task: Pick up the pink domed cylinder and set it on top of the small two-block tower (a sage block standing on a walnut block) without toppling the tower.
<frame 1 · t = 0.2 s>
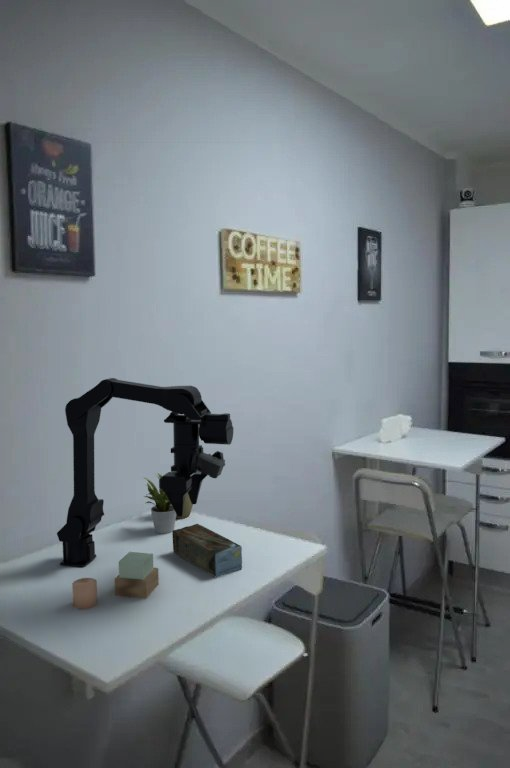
hand: (187, 510, 140), 14 cm above the table, tool pointing down, fingers open, 9 cm apart
squeeze bottle: (179, 516, 181), on the table
pink domed cylinder: (85, 603, 126), on the table
beverage carton: (206, 562, 148), on the table
base block: (137, 591, 132), on the table, touching top block
house plant: (169, 530, 169), on the table
top block: (136, 573, 132), point 4 cm above the table, touching base block
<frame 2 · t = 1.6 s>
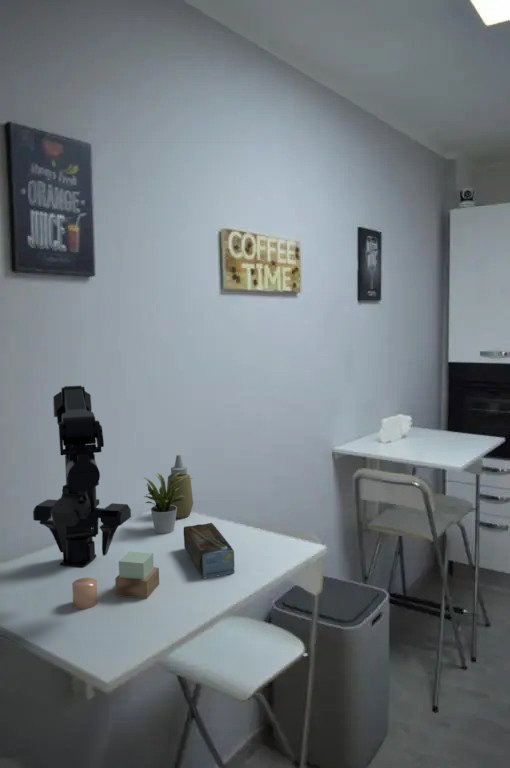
hand: (83, 553, 125), 11 cm above the table, tool pointing down, fingers open, 9 cm apart
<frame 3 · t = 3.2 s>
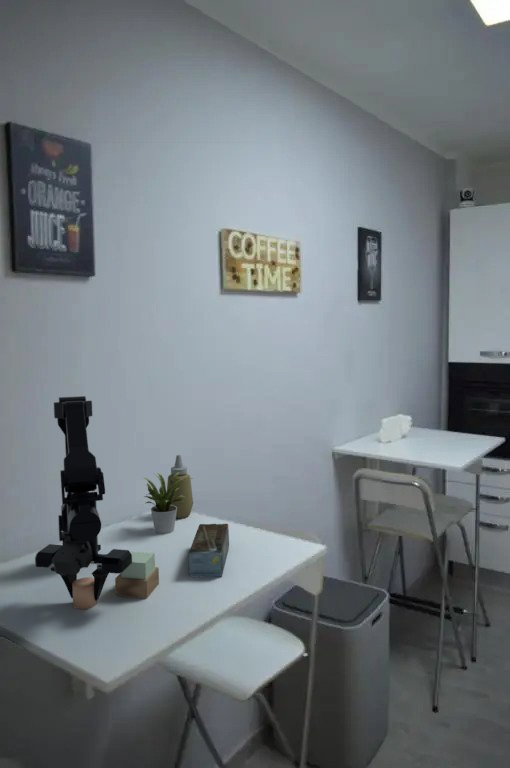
hand: (85, 598, 126), 1 cm above the table, tool pointing down, fingers closed on pink domed cylinder, 5 cm apart
pink domed cylinder: (85, 603, 126), on the table, touching gripper
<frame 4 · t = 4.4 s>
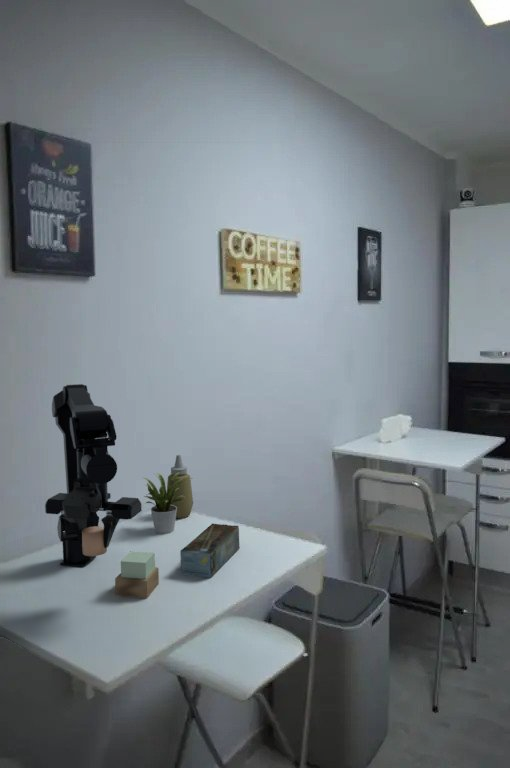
hand: (94, 546, 126), 12 cm above the table, tool pointing down, fingers closed on pink domed cylinder, 5 cm apart
pink domed cylinder: (94, 551, 126), point 10 cm above the table, touching gripper
when the fingers open (10 cm above the table, at t = 5.8 s): pink domed cylinder drops 1 cm, resting on top block.
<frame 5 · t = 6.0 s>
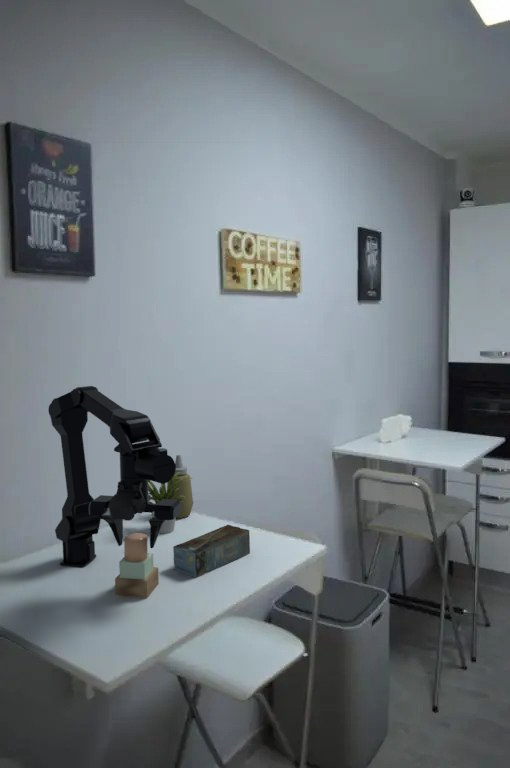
hand: (136, 546, 131), 10 cm above the table, tool pointing down, fingers open, 7 cm apart
pink domed cylinder: (136, 557, 131), point 7 cm above the table, touching top block
top block: (136, 573, 132), point 4 cm above the table, touching base block, pink domed cylinder
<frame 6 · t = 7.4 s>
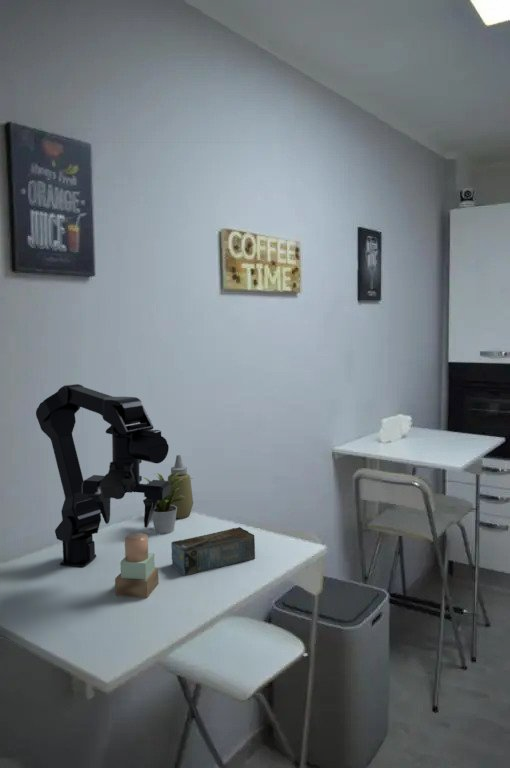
hand: (126, 525, 136), 13 cm above the table, tool pointing down, fingers open, 9 cm apart
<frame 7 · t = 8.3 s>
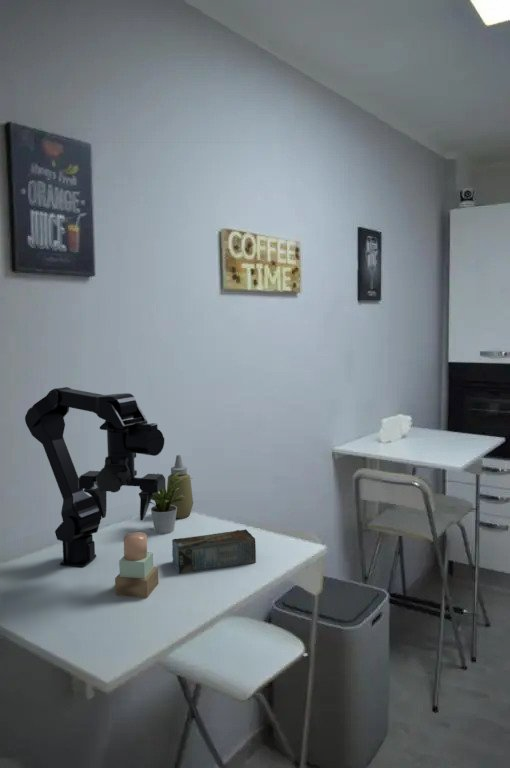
hand: (122, 518, 139), 13 cm above the table, tool pointing down, fingers open, 9 cm apart
base block: (137, 590, 132), on the table
top block: (136, 572, 132), point 4 cm above the table, touching pink domed cylinder
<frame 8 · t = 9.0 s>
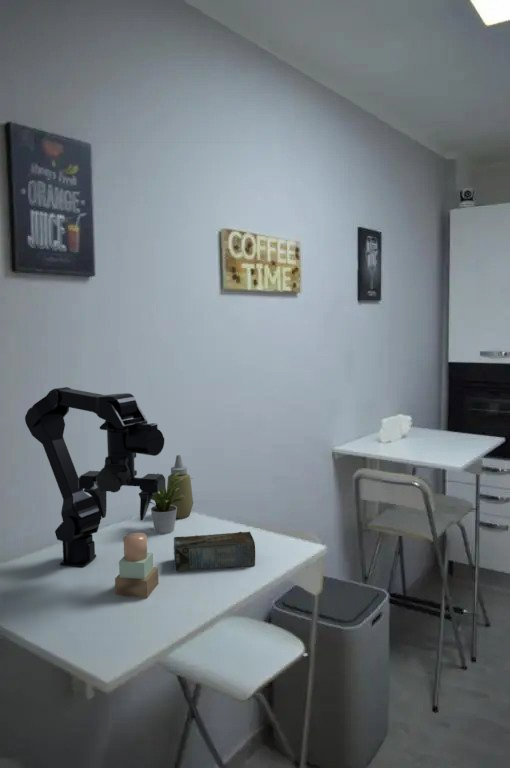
hand: (122, 518, 139), 13 cm above the table, tool pointing down, fingers open, 9 cm apart
base block: (137, 590, 132), on the table, touching top block
top block: (136, 572, 132), point 4 cm above the table, touching base block, pink domed cylinder
at the end: pink domed cylinder 0.2 cm off-centre on the base block, point 7.5 cm above the base block's base; top block tilted 0°; top block 0.1 cm from the base block (horizontally) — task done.
